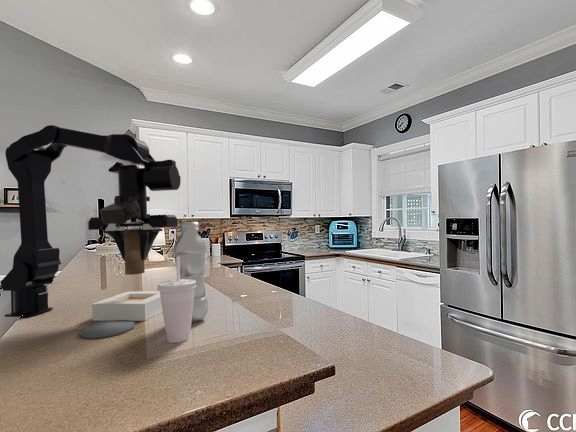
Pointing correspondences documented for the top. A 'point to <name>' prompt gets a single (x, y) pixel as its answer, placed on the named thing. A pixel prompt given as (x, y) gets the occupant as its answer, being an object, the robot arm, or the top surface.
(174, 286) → the smoothie
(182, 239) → the plastic bottle
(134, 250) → the brown cylindrical post
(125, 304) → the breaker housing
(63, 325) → the top surface
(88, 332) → the slate mat
